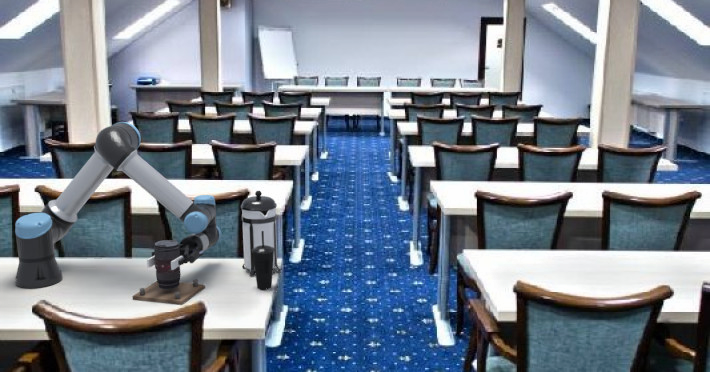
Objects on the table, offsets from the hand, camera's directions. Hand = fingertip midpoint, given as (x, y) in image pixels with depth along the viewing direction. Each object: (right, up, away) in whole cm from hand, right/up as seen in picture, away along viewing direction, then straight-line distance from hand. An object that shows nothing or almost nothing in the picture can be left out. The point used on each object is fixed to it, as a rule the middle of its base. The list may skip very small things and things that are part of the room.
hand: (160, 264), depth 236 cm
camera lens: (+1, -8, +6) cm, 10 cm away
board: (+1, -10, +7) cm, 13 cm away
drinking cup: (+33, -9, +12) cm, 36 cm away
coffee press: (+28, -5, +31) cm, 42 cm away
